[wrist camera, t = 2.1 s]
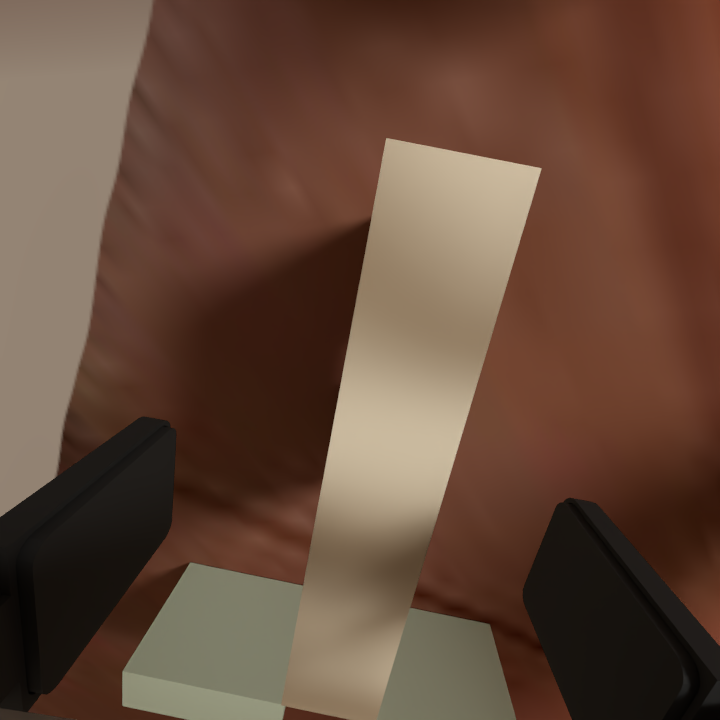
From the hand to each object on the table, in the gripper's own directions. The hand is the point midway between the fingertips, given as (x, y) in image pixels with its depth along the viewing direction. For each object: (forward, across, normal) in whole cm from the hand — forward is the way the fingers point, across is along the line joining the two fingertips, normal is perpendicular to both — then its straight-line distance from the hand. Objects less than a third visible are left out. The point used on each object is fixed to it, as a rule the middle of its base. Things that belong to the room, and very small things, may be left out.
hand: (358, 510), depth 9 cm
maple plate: (+15, -1, 0) cm, 15 cm away
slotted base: (+15, -2, +21) cm, 26 cm away
